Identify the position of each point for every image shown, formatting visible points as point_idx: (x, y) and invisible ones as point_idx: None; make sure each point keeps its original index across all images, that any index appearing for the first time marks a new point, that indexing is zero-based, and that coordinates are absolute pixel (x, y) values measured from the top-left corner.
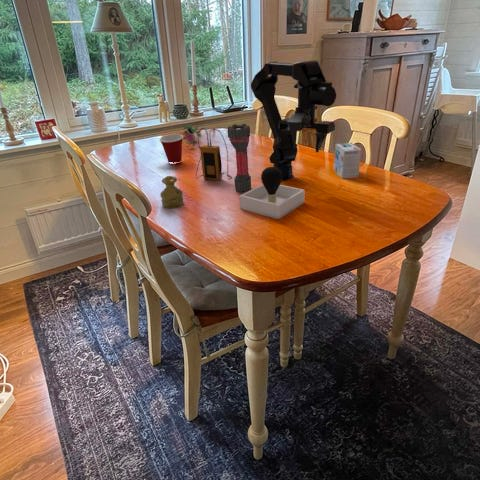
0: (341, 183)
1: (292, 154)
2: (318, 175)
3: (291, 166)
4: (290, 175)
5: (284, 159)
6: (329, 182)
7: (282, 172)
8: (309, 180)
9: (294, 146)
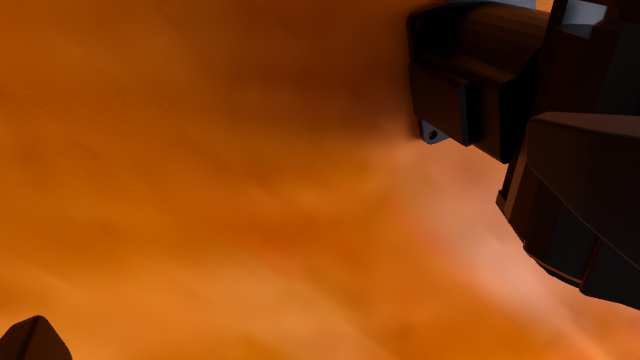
0: (52, 323)
1: (531, 169)
2: (304, 283)
3: (464, 133)
4: (417, 92)
5: (548, 55)
6: (133, 267)
7: (477, 33)
8: (274, 177)
9: (560, 162)
